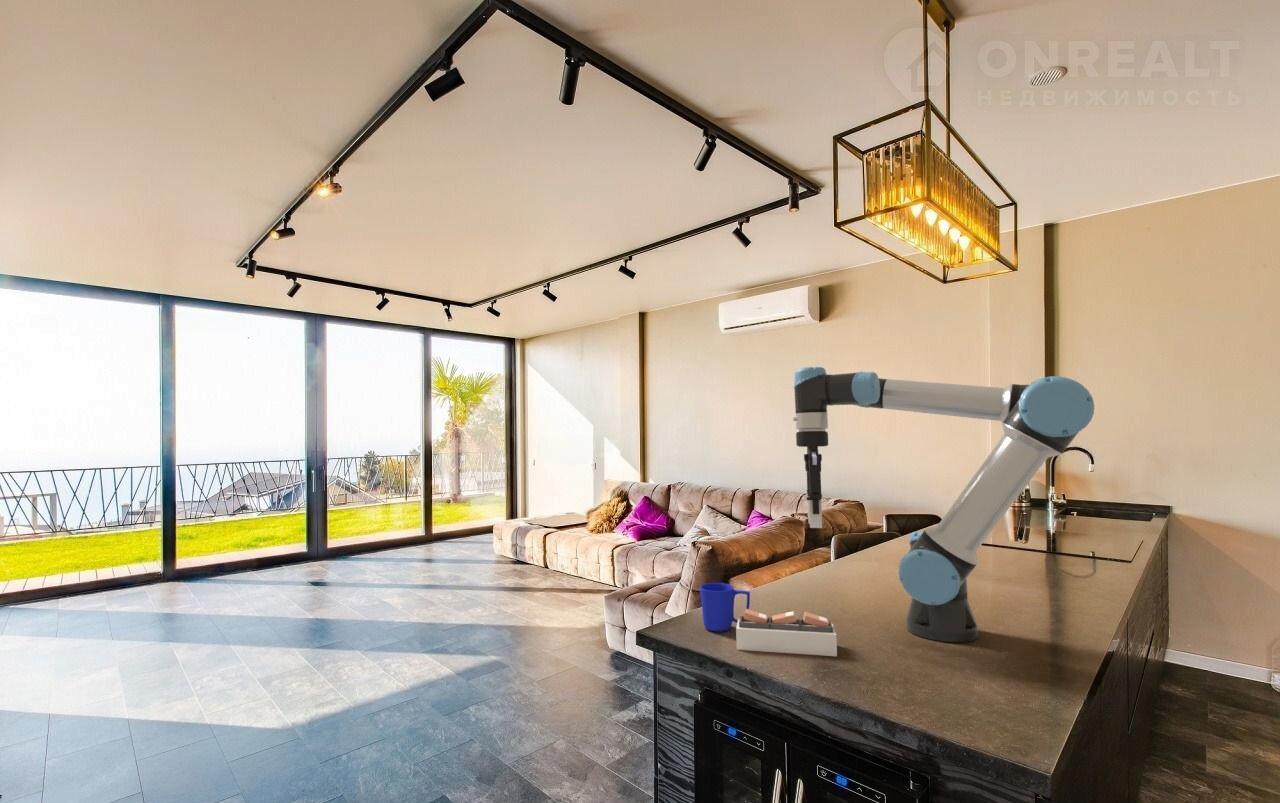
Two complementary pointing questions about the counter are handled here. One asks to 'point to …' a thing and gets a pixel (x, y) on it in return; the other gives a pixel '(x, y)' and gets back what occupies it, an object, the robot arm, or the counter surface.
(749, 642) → the white rack
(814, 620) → the orange rectangular block
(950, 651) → the counter surface
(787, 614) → the block
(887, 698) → the counter surface
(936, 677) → the counter surface
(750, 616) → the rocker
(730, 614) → the mug
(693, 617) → the counter surface
